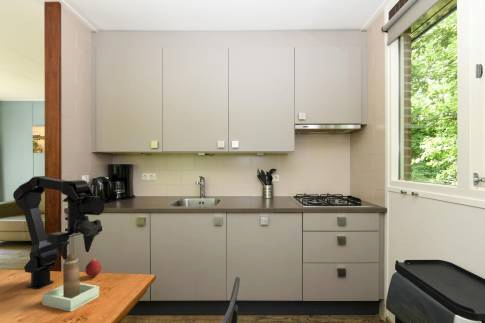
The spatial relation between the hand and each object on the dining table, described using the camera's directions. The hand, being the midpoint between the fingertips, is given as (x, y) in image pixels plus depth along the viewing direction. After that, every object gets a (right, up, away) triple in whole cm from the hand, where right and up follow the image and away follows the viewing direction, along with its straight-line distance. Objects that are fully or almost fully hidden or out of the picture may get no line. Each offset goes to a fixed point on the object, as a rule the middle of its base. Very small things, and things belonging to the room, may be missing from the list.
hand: (76, 255), depth 104 cm
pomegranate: (0, -13, +12) cm, 18 cm away
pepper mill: (+3, -12, -7) cm, 14 cm away
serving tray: (+3, -13, -7) cm, 15 cm away
